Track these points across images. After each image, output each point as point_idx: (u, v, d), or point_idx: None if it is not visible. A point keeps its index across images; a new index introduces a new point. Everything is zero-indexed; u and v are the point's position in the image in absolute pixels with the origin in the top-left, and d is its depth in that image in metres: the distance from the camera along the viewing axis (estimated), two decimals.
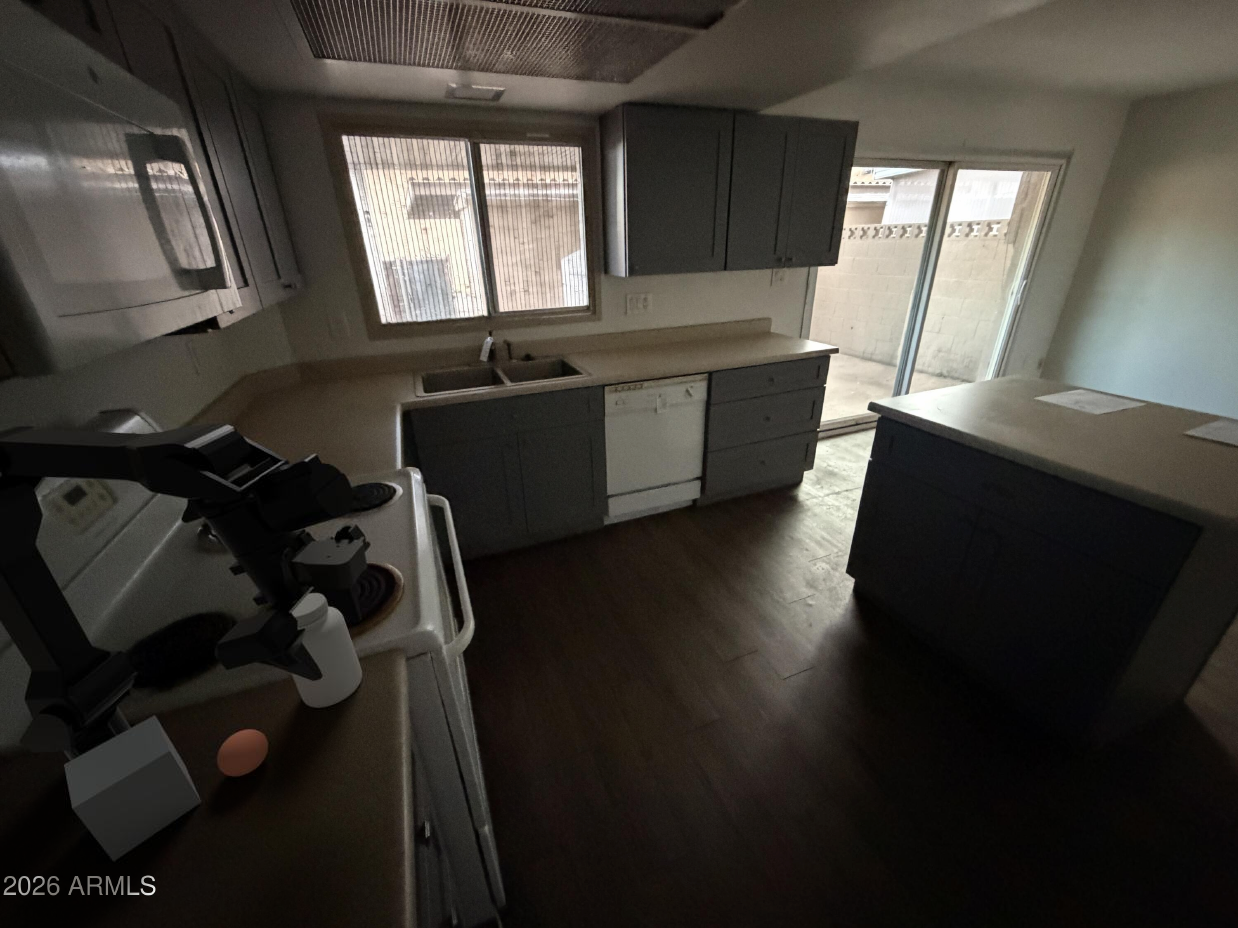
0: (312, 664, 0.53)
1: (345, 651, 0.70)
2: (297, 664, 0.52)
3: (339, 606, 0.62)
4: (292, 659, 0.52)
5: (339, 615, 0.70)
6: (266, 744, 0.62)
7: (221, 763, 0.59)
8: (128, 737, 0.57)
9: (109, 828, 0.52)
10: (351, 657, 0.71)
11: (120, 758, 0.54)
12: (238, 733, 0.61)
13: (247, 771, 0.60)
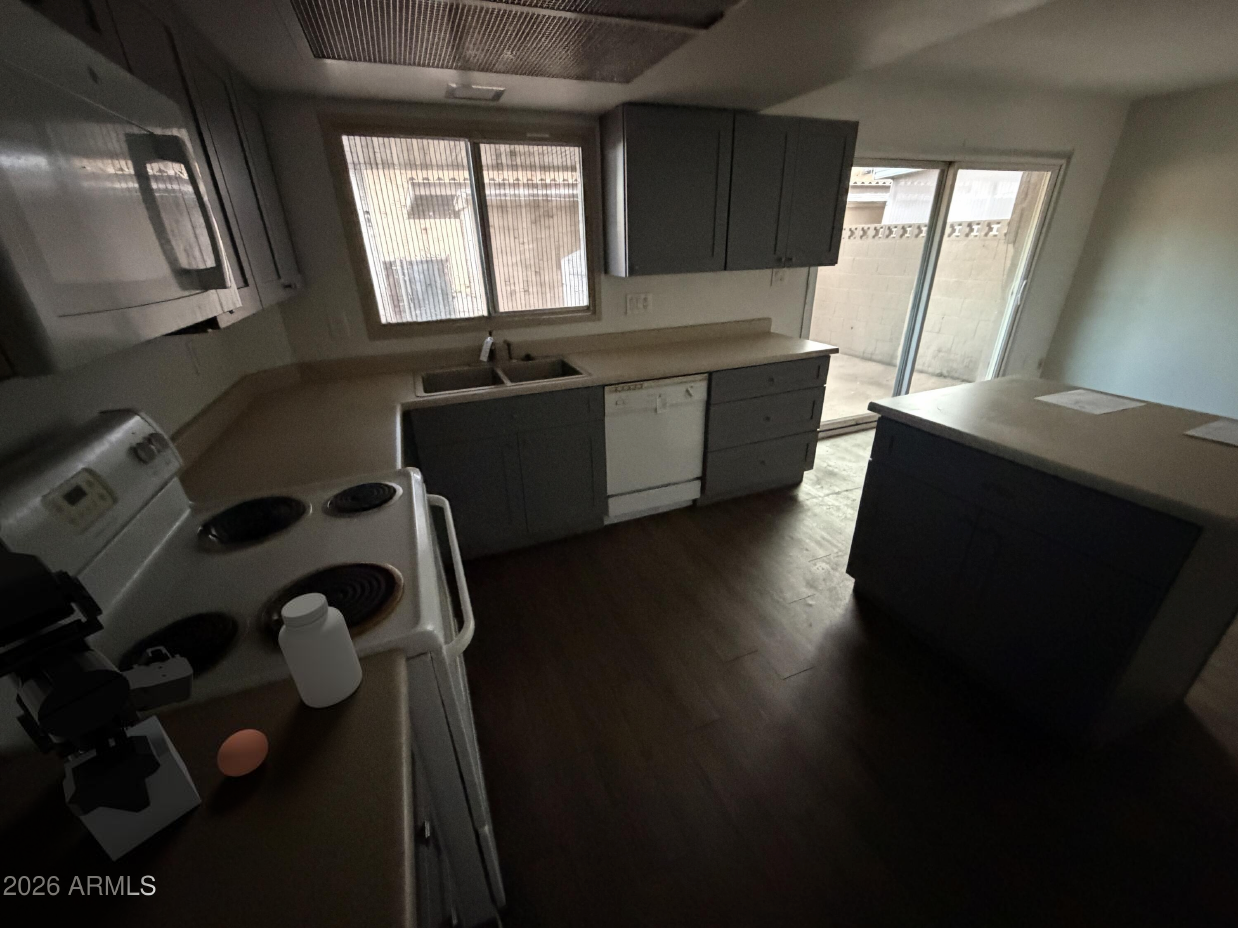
0: None
1: (345, 651, 0.70)
2: (135, 792, 0.52)
3: None
4: (130, 788, 0.52)
5: (339, 615, 0.70)
6: (266, 744, 0.62)
7: (221, 763, 0.59)
8: None
9: (110, 827, 0.52)
10: (351, 657, 0.71)
11: None
12: (238, 733, 0.61)
13: (247, 771, 0.60)
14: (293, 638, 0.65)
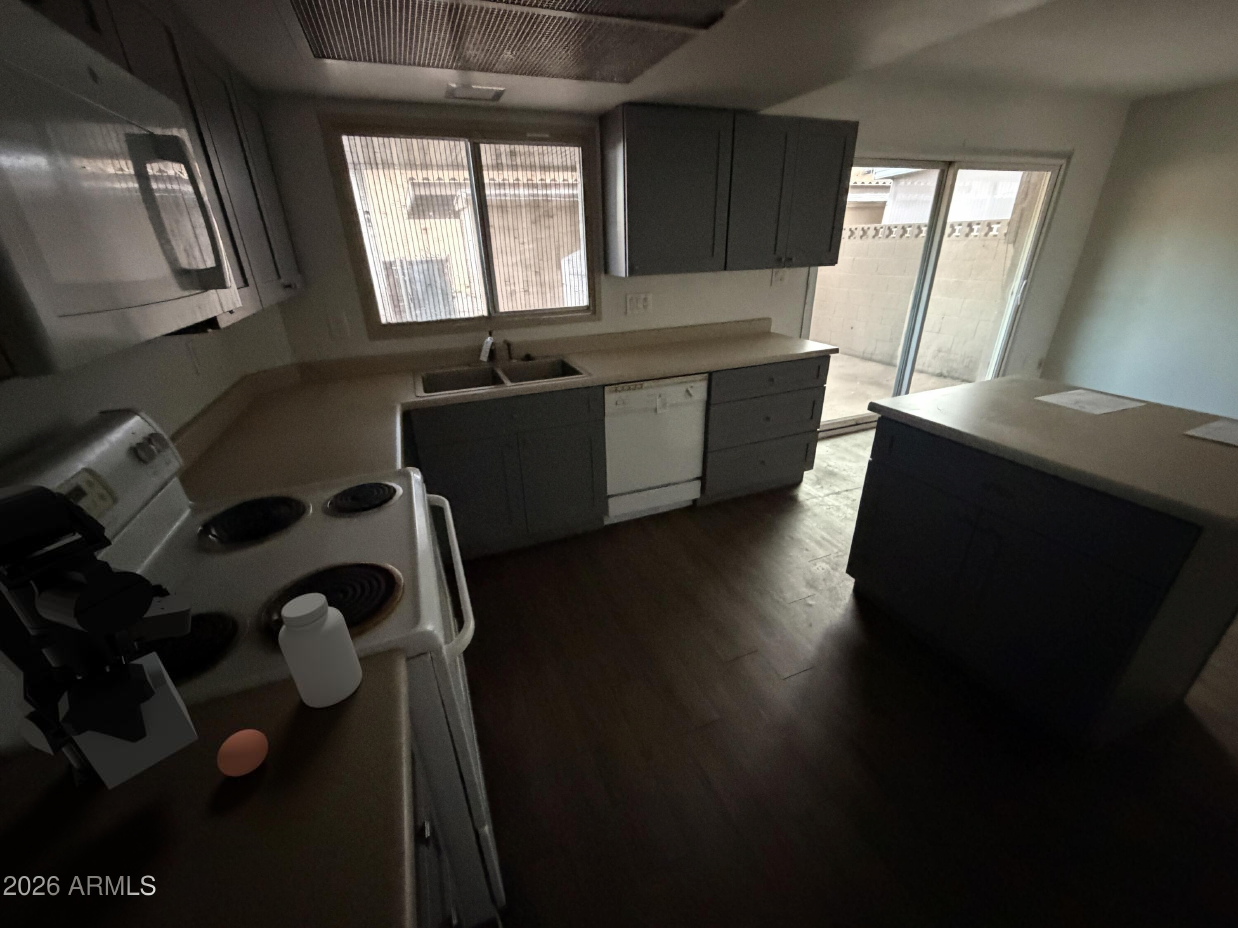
0: None
1: (345, 651, 0.70)
2: (130, 721, 0.52)
3: None
4: (126, 716, 0.52)
5: (339, 615, 0.70)
6: (266, 744, 0.62)
7: (221, 763, 0.59)
8: None
9: (106, 755, 0.52)
10: (351, 657, 0.71)
11: None
12: (238, 733, 0.61)
13: (247, 771, 0.60)
14: (293, 638, 0.65)
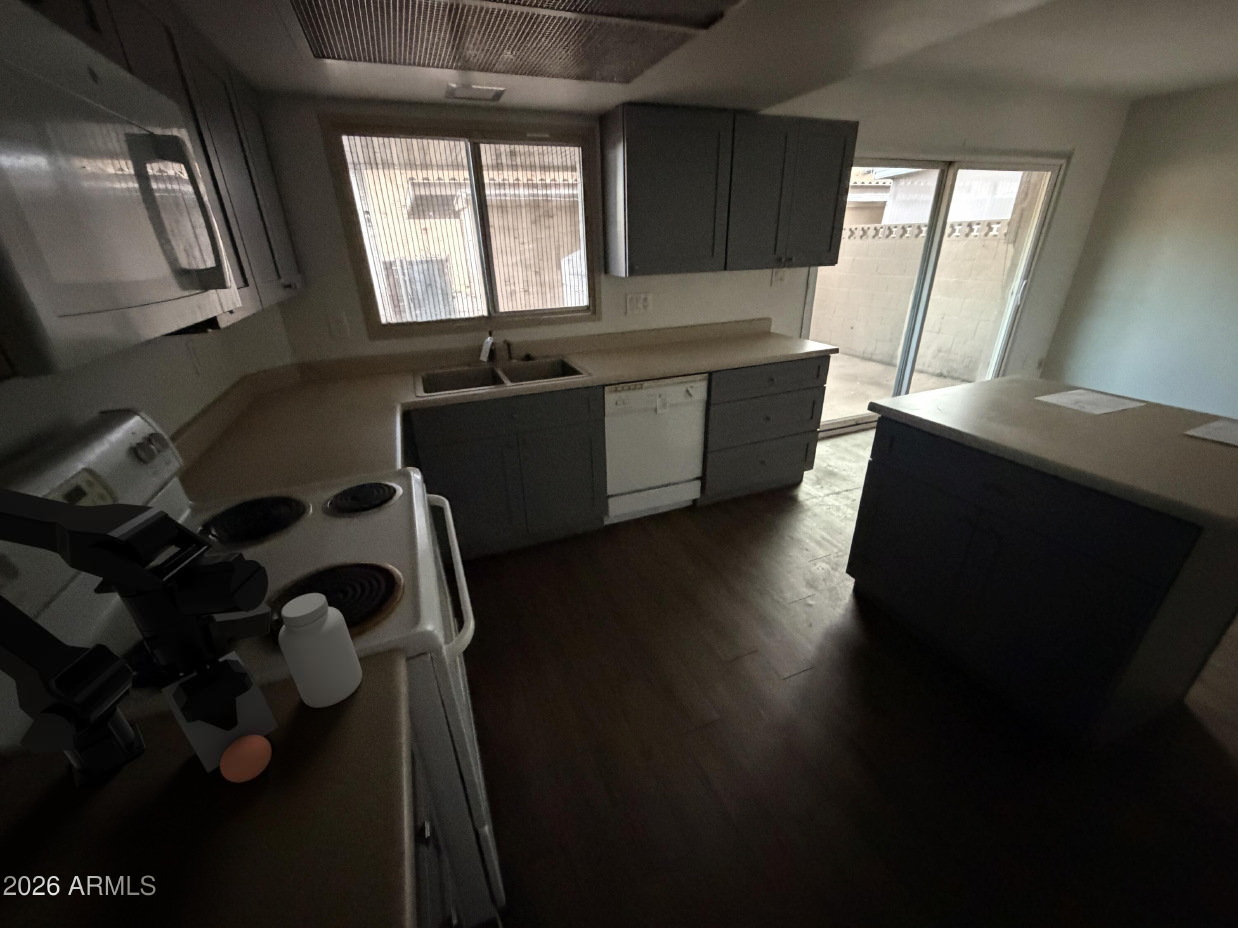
0: None
1: (345, 651, 0.70)
2: (227, 711, 0.59)
3: None
4: (224, 707, 0.59)
5: (339, 615, 0.70)
6: (270, 752, 0.61)
7: (226, 773, 0.58)
8: None
9: (205, 741, 0.59)
10: (351, 657, 0.71)
11: None
12: (244, 743, 0.59)
13: (251, 778, 0.60)
14: (293, 638, 0.65)
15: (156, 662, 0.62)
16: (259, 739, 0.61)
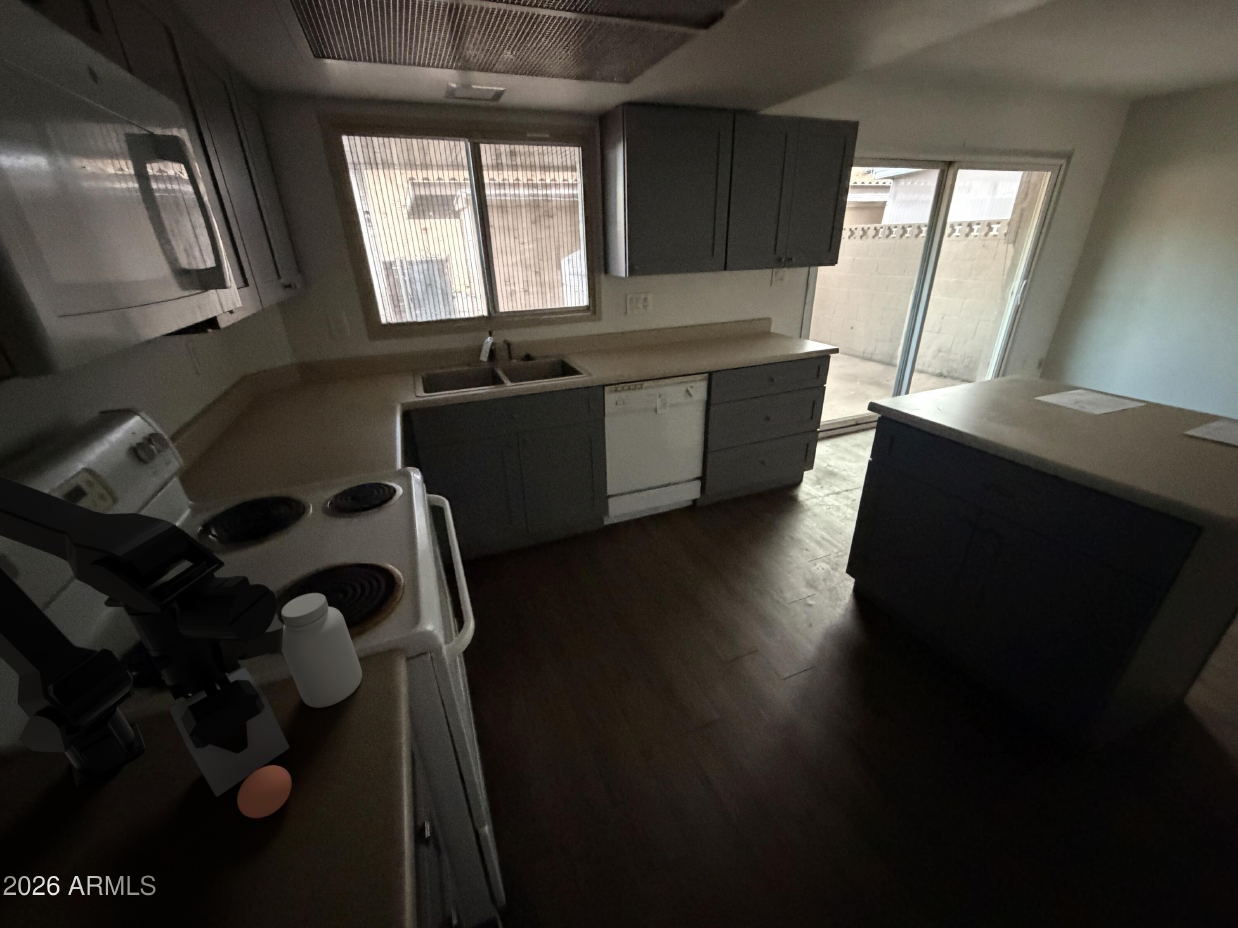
0: None
1: (345, 651, 0.70)
2: (237, 733, 0.56)
3: None
4: (234, 729, 0.56)
5: (339, 615, 0.70)
6: None
7: None
8: None
9: (214, 765, 0.56)
10: (351, 657, 0.71)
11: None
12: None
13: None
14: (293, 638, 0.65)
15: None
16: None
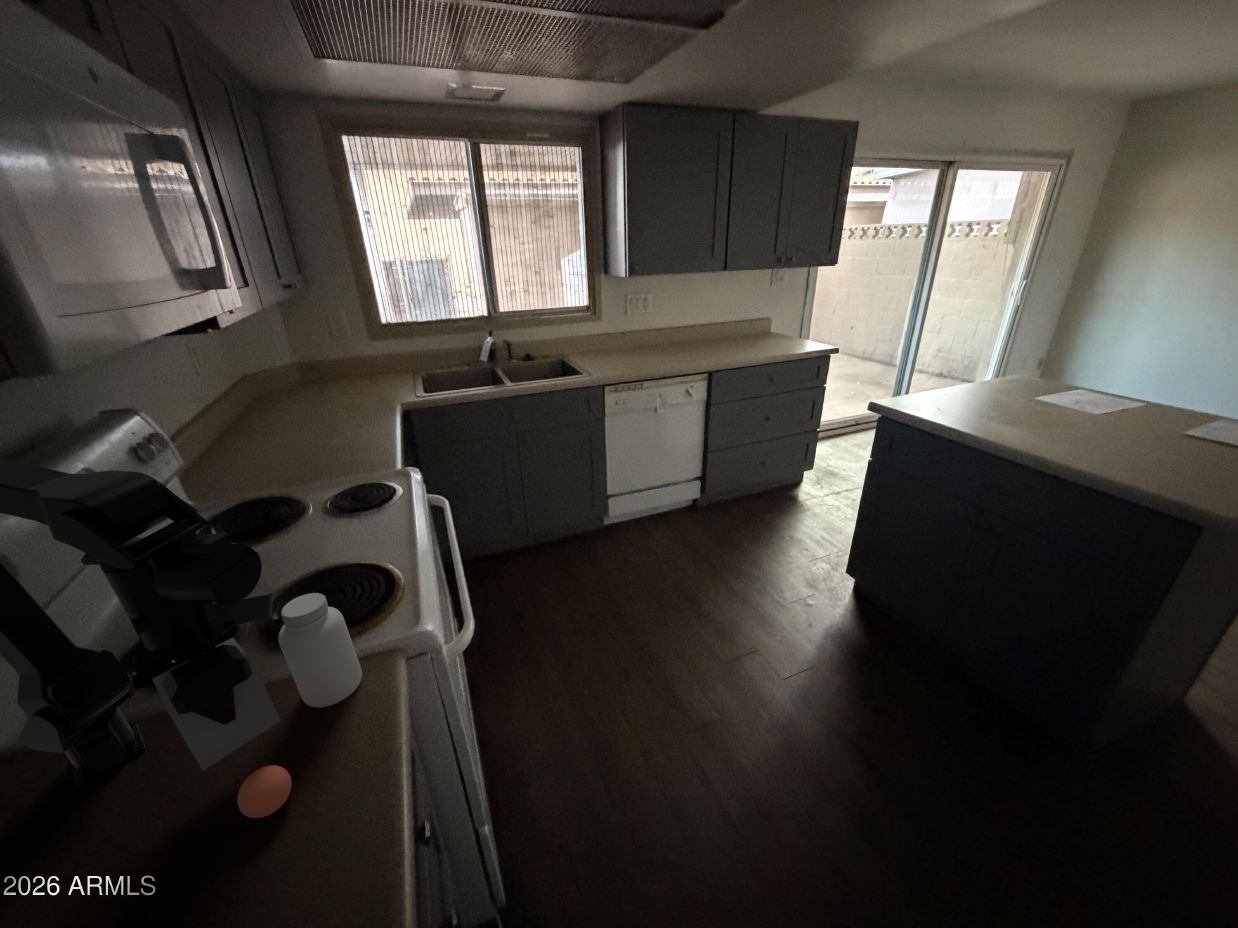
0: None
1: (345, 651, 0.70)
2: (224, 703, 0.53)
3: None
4: (220, 698, 0.53)
5: (339, 615, 0.70)
6: None
7: None
8: None
9: (200, 736, 0.53)
10: (351, 657, 0.71)
11: None
12: None
13: None
14: (293, 638, 0.65)
15: (147, 648, 0.56)
16: None
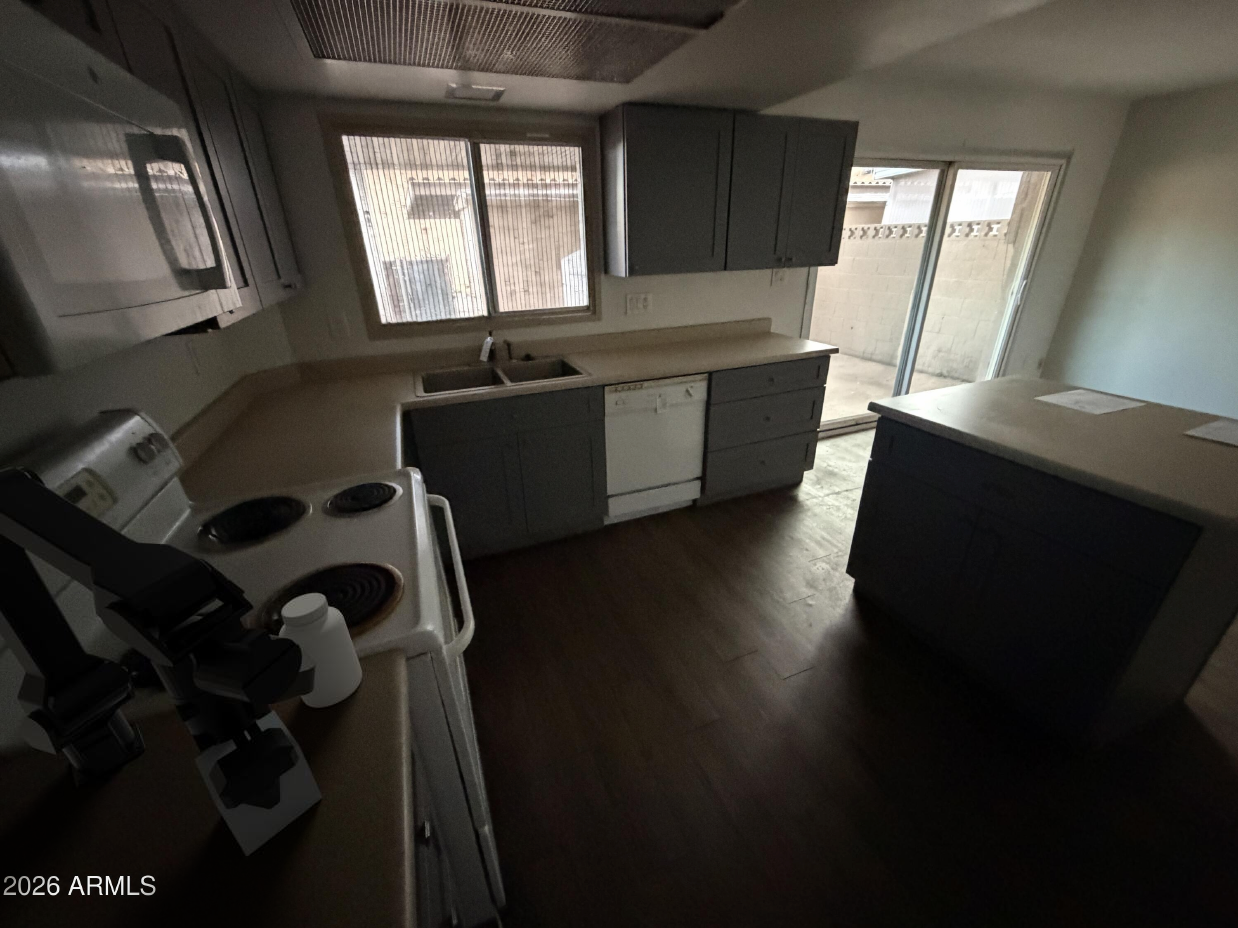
0: None
1: (345, 651, 0.70)
2: (270, 789, 0.51)
3: None
4: (266, 784, 0.51)
5: (339, 615, 0.70)
6: None
7: None
8: None
9: (245, 822, 0.52)
10: (351, 657, 0.71)
11: None
12: None
13: None
14: (293, 638, 0.65)
15: None
16: None
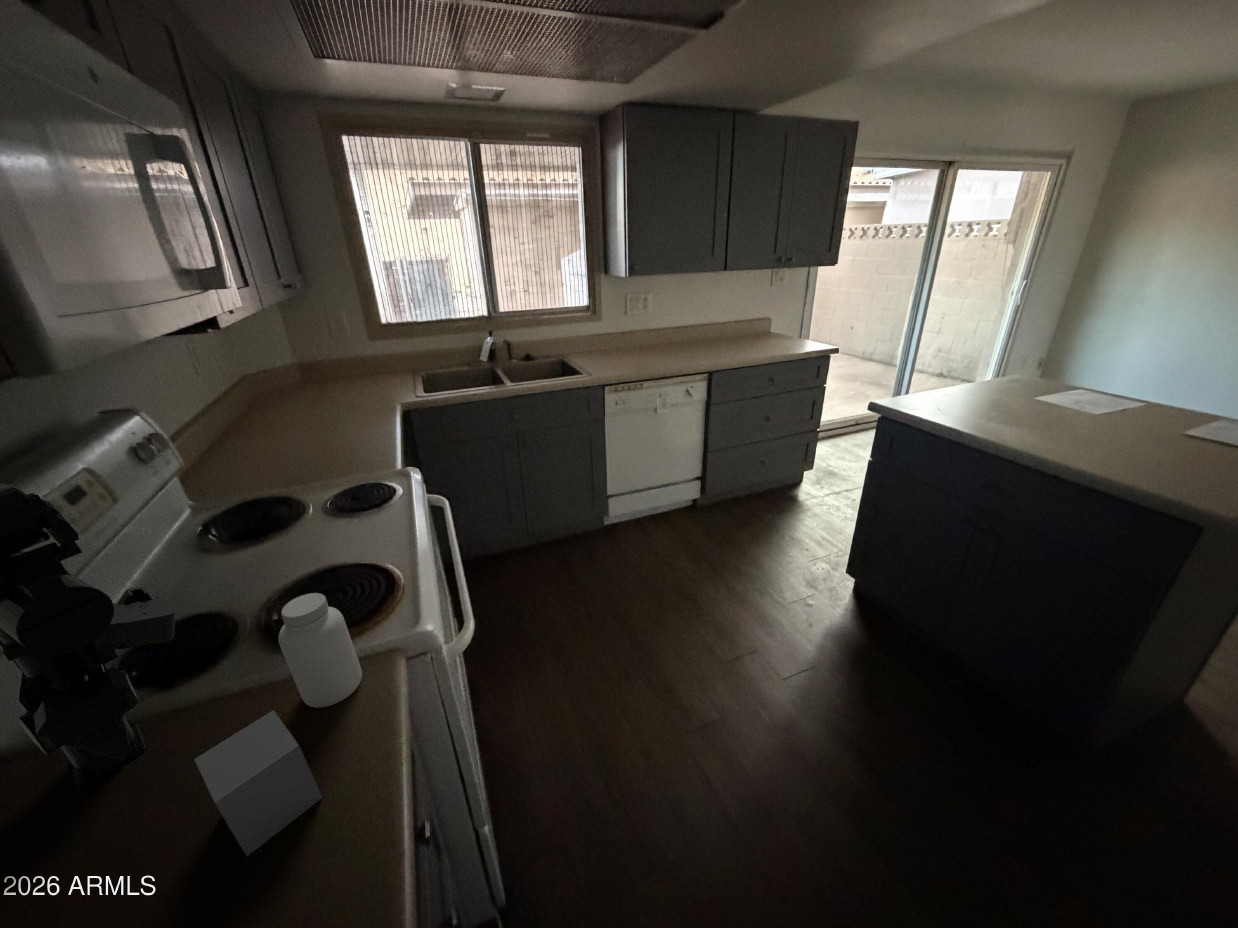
0: (126, 733, 0.50)
1: (345, 651, 0.70)
2: (113, 735, 0.49)
3: None
4: (108, 730, 0.49)
5: (339, 615, 0.70)
6: None
7: None
8: (252, 732, 0.56)
9: (245, 822, 0.52)
10: (351, 657, 0.71)
11: (250, 753, 0.54)
12: None
13: None
14: (293, 638, 0.65)
15: None
16: None
